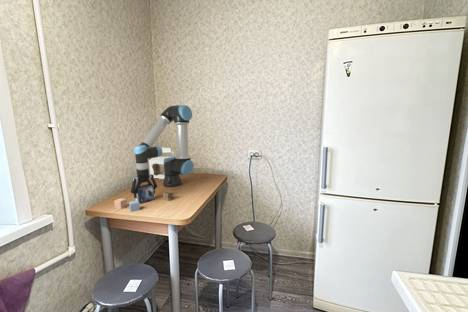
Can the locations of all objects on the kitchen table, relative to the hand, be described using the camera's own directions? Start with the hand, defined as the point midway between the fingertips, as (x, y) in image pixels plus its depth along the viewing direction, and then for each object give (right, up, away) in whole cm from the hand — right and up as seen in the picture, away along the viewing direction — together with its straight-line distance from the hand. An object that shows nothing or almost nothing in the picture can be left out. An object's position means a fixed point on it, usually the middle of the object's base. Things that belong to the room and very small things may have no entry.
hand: (145, 200), depth 168 cm
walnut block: (+16, 0, +2) cm, 16 cm away
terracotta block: (-12, -3, -10) cm, 16 cm away
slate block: (-1, -3, -15) cm, 16 cm away
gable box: (-5, +10, +64) cm, 64 cm away
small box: (0, -1, 0) cm, 1 cm away
